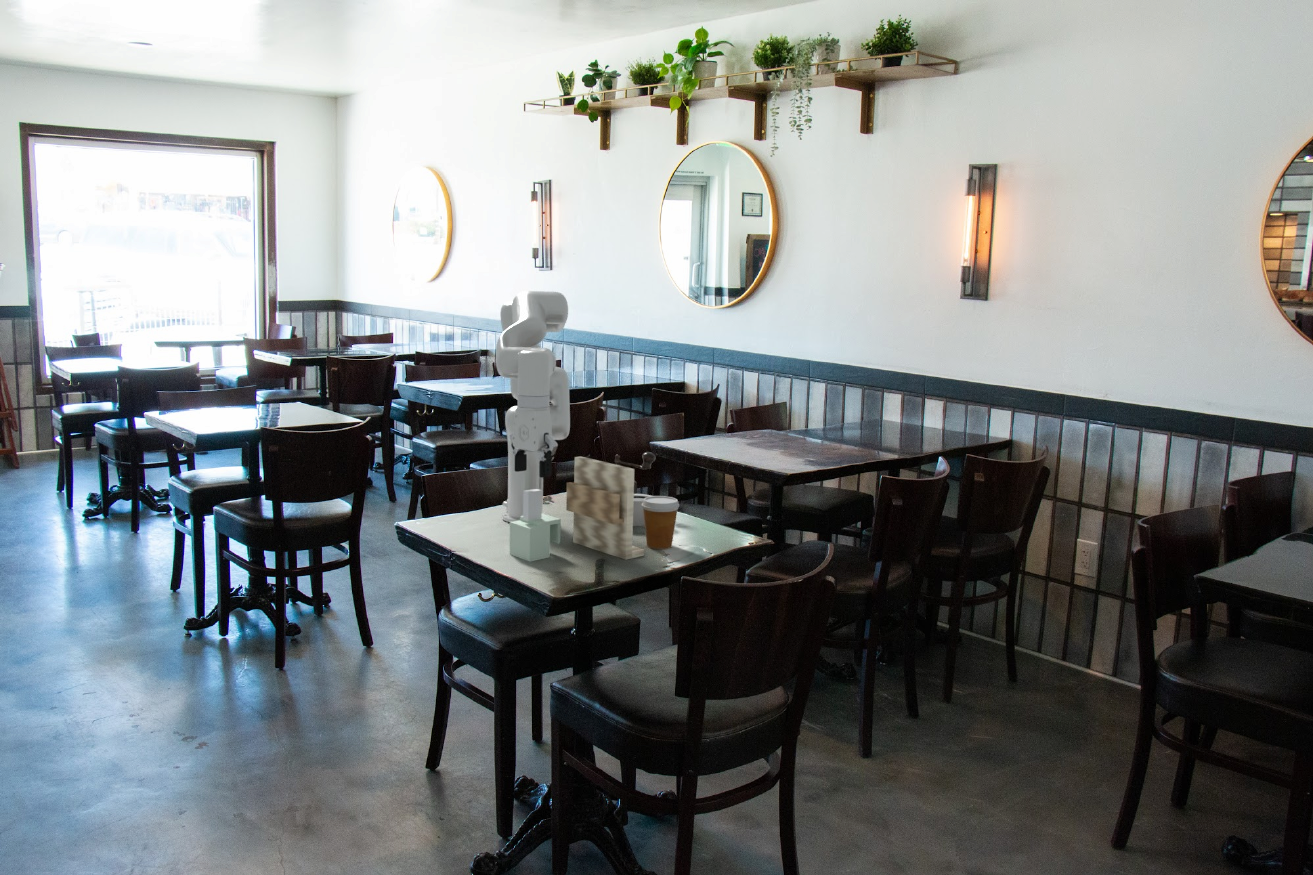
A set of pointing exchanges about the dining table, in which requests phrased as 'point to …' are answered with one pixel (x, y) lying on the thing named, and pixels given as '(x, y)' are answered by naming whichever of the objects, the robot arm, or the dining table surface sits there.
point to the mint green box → (533, 529)
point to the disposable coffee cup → (660, 520)
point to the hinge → (638, 510)
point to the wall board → (603, 507)
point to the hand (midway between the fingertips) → (532, 473)
